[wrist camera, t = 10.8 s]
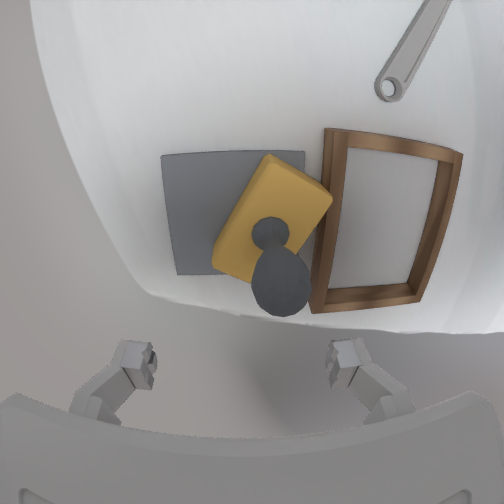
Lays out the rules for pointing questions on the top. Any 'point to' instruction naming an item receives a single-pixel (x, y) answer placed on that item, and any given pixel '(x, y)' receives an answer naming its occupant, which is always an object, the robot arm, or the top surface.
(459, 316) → the top surface
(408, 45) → the adjustable wrench
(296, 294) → the rubber stamp
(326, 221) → the wooden frame
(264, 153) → the slate mat
